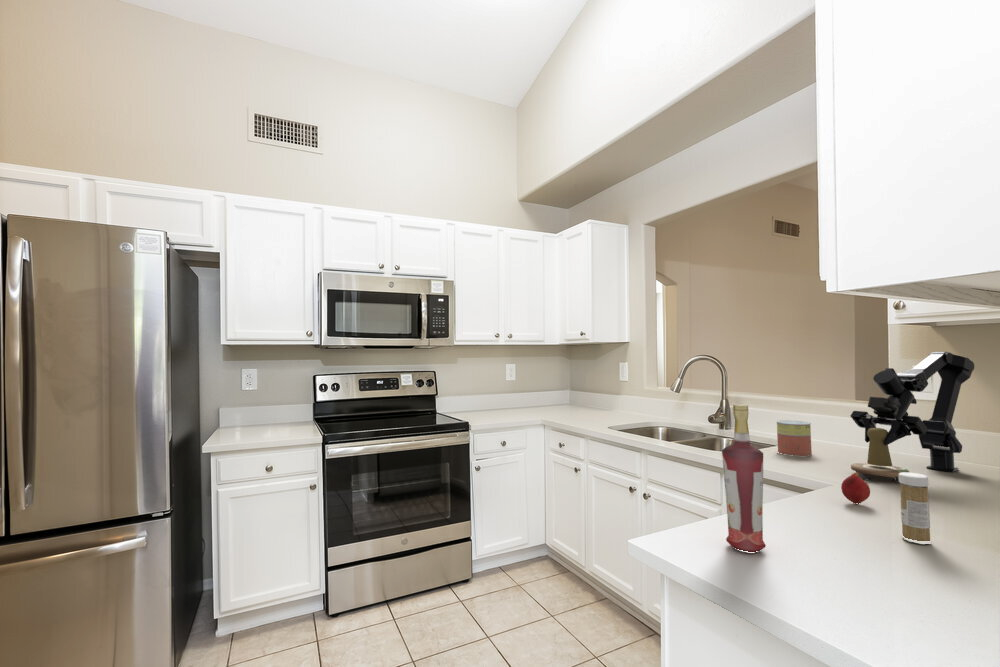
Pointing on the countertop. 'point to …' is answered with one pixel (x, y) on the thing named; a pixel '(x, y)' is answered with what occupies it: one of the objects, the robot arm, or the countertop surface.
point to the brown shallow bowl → (877, 470)
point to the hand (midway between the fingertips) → (875, 442)
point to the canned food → (794, 438)
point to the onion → (855, 488)
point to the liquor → (743, 487)
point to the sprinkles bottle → (915, 506)
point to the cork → (878, 448)
